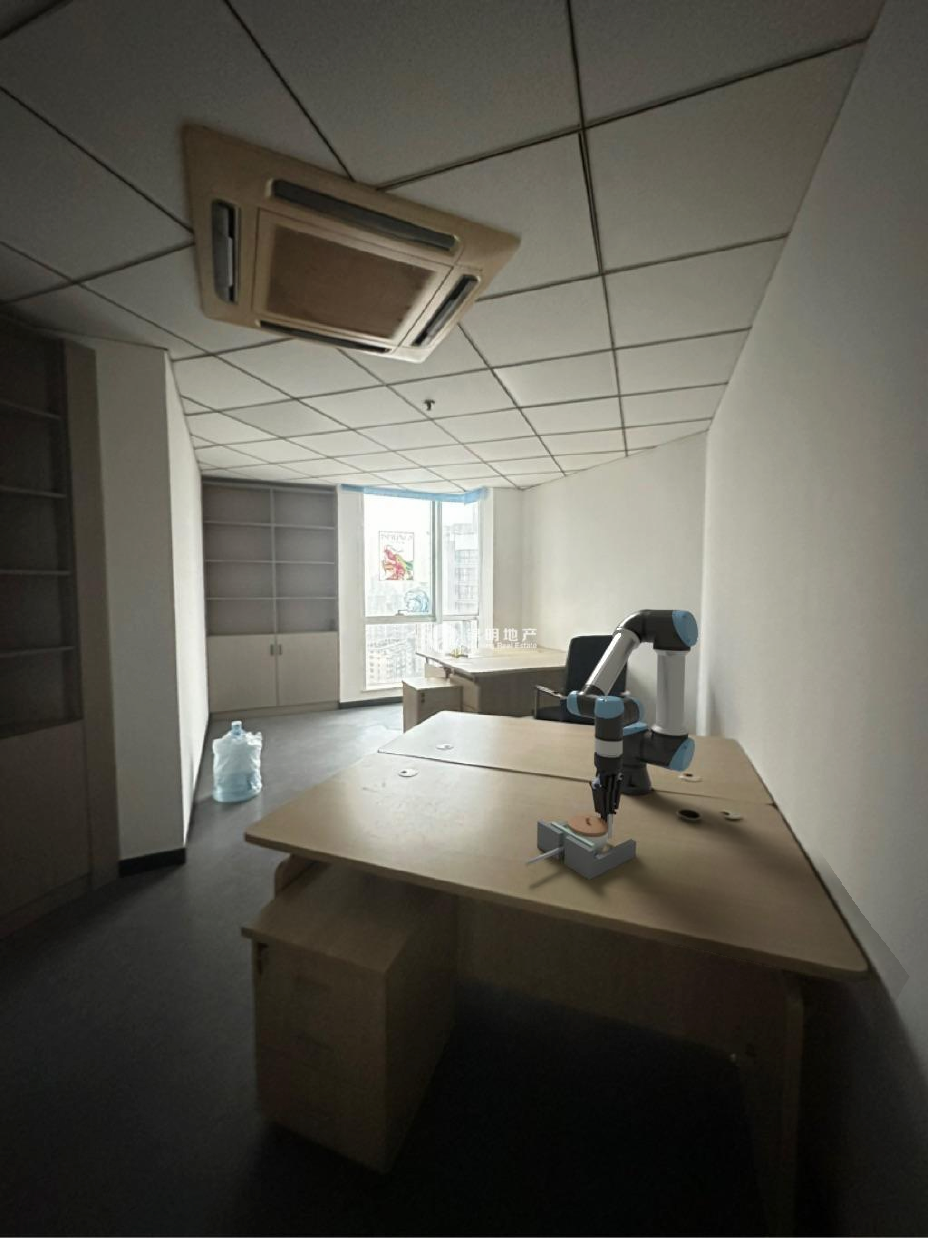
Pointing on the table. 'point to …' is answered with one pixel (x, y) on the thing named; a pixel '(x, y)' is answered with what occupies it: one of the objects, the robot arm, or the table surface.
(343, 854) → the table surface
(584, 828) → the lidded jar
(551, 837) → the grey fixture frame
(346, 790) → the table surface
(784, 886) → the table surface
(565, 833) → the pusher
